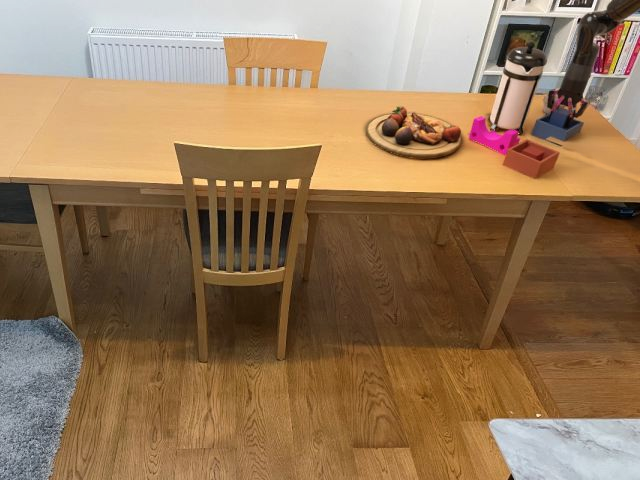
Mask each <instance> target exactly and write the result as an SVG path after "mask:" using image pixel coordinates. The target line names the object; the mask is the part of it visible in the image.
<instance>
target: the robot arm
mask: <svg viewBox="0 0 640 480" xmlns="http://www.w3.org/2000/svg"><path fill="white" fill-rule="evenodd" d="M639 11H640V0H610V1H609V2H608V4H607V5H606V9H604V10H597V11H589V12H587V13H585V14H584V15H583V16H582V17H581V19H580V20H579V22H578V25H577V30H576V39H575V48H574V51H573V53H572V57H571V59H570V61H569V64H568V66H567V68H566V70H565V72H564V73H565V74H564V76H563V79H562V81H561V83H560V89H559V90H555V89H556V88H553V89H550V90H549V91H548V93H549V94H548V93H547V95H548V102H547V108H550V109H551V113H550V116H549V121H550V118H551V116H552V113H553V111H554V110H556V109H558V108H559V107H560V106H561V105H565V106H566V108H568V109H567V110H568V111H569V117H568V118H567V121H566V124H565V126H564V127H566V128H565V129H567V127H569V126H570V125H571V124H572V122H573V119H577V118H579V117H581V116H582V115H583V114H584V113H585V111H586V110H587V108H588V107H589V106H590V104H591V101H590V100H586V99H585V98H584V93H585V91H586V88H587V85H588V83H589V80H590V79H591V76H592V73H593V69H594V66H595V63H596V60H597V59H598V55H599V53H600V48H601V47H600V45H599V44H598V43H597V42H594V41H595V37H597V36H604V35H607V34H609V33H611V32H613V31H614V30H616V29H617V28H618V27H619V26H620V25H621V24H622V23H623V22H624V21H625V20H626V19H628V18H629V17H631V16H633V15H634V14H635V13H637V12H639ZM556 95H558V99H559V100H558V101H557V102H556V103H555V105H554V100H555V96H556ZM579 103H580V107H579V108H578V104H579ZM577 108H578V110H577Z"/></svg>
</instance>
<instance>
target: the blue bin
mask: <svg viewBox="0 0 640 480" xmlns="http://www.w3.org/2000/svg"><path fill="white" fill-rule="evenodd" d="M549 116H550V113H549V114H545V115H543V116H540V117H539V118H537V119H536V120H535V122H534V125H533V128H532V130H531V133H530V134H531V136H533V137H536V138H538V139H541V140H544V141H546V142H549V143H551V144H554V145H557V146H559V147H563V145H562V144H559V143H557V142H555V141H552V140H549V138H553V139H556V140H559V141H561V142H566V141H568V140H569V139H571V138H573V137H574V136H576V135H578V134H581V132H582V128H583V126H584V123H585V122H584V121H581V120H578V119H577V118H574V119H573V122H572V124H571V125H570V126H569V127H567V128H566V127H565V128H563V129H562V128H559V127H557V126H554V125H551V124H549Z"/></svg>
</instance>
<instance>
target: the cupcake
mask: <svg viewBox="0 0 640 480" xmlns="http://www.w3.org/2000/svg"><path fill="white" fill-rule="evenodd" d="M560 87H561V86H560ZM560 87H559V86H558V87H556V88H554V89H555V90H559V89H560ZM548 94H549V92H548V93H547V94H546V96H543V98H542V112H543V113H544V114H545V115H547V114H549V113H551V109H550V108H547V102H548ZM558 100H559V99H558V95H556V96H555V100H554V105H555V103H556V102H557V101H558ZM560 107H561V108H564V109H566V108H567V106H565V105H561V106H560ZM560 107H559V108H560Z"/></svg>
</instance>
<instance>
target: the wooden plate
mask: <svg viewBox="0 0 640 480" xmlns="http://www.w3.org/2000/svg"><path fill="white" fill-rule="evenodd" d="M391 112H392V113H390V114H385V115H381V116H378V117H377V118H375V119H373V120H372V121H371V122H370V123H369V124H368V126H367V129H366V135H367V137H368V139H369V141H370V142H371V143H372V142H373V143H372V144H374V145H375V144H376V145H377V146H376V145H375V146H376V147H378V146H379V147H380V148H379V147H378V148H379V149H381V148H382V149H381V150H383V149H384V150H383V151H385V150H387V151H389V152H388V153H390V152H392V153H391V154H393V153H395V154H394V155H396V154H398V155H397V156H399V155H402V156H401V157H403V156H407V157H406V158H409V157H413V158H412V159H420V158H426V159H436V158H437V157H438V158H442V156H443V157H446V156H448V155H451V154H453V153H455V152H456V151H458V149H459V147H460V146H461V143H462V138H461V137H462V136H461V134H462V130H461V128H460V126H458V125H453V126H452V125H451V124H450V123H448V122H446V121H444V120H442V119H440V118H436V117H432V116H429V115H425V114H421V113H420V114H419V113H416V112H415V111H413V112H412V113H409V112H408V110H407V108H406V107H404V106H396V108H395V109H394V110H392V111H391ZM387 151H386V152H387Z"/></svg>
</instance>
